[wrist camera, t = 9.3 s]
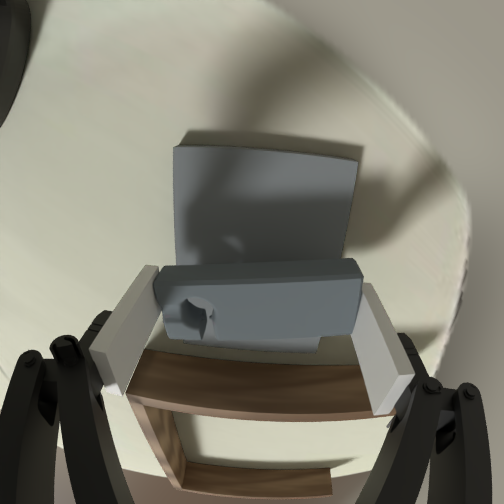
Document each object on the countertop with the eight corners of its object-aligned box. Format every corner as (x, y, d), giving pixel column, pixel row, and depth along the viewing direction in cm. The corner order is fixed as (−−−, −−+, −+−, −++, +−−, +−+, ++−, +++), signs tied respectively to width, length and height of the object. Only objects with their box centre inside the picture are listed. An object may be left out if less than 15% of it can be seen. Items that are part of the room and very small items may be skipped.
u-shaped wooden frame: (144, 349, 23) (125, 393, 18) (401, 362, 23) (418, 404, 18) (180, 462, 35) (174, 489, 31) (327, 470, 35) (330, 496, 30)
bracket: (348, 314, 16) (355, 336, 15) (176, 320, 17) (167, 341, 16) (355, 255, 15) (365, 274, 13) (161, 263, 16) (149, 282, 14)
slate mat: (178, 145, 16) (173, 147, 15) (353, 159, 15) (358, 162, 15) (186, 334, 22) (183, 343, 21) (314, 344, 22) (315, 353, 21)
